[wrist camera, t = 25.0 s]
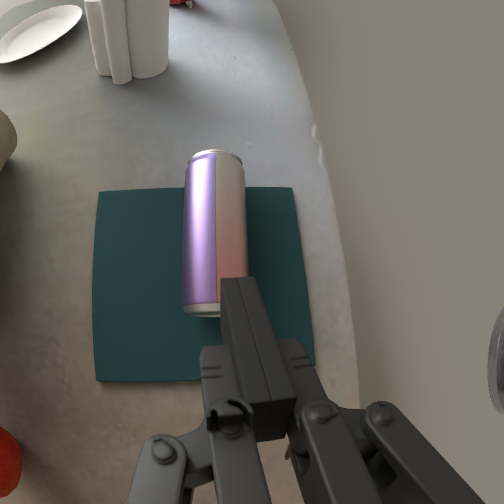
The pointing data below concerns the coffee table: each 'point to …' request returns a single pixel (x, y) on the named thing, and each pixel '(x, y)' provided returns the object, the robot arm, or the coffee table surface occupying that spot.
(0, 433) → the apple
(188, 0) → the alarm clock
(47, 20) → the plate
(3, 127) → the vase
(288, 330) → the mat
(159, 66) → the vase
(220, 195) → the beverage can
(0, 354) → the coffee table surface
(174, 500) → the robot arm
